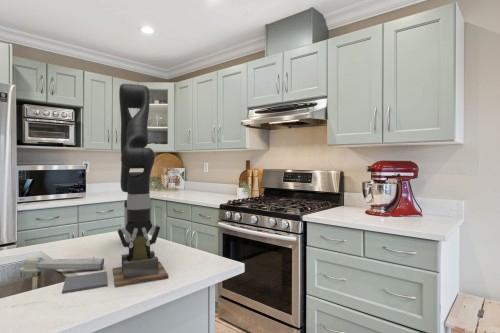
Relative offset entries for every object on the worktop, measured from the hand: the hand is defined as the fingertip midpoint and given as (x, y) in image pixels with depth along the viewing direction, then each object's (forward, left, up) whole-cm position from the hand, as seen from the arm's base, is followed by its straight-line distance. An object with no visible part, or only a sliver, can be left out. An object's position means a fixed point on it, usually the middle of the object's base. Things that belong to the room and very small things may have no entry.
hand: (139, 257), depth 106 cm
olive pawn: (0, 0, -4) cm, 4 cm away
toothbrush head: (-14, -23, -6) cm, 28 cm away
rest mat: (0, -16, -6) cm, 17 cm away
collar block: (0, 0, -6) cm, 6 cm away
